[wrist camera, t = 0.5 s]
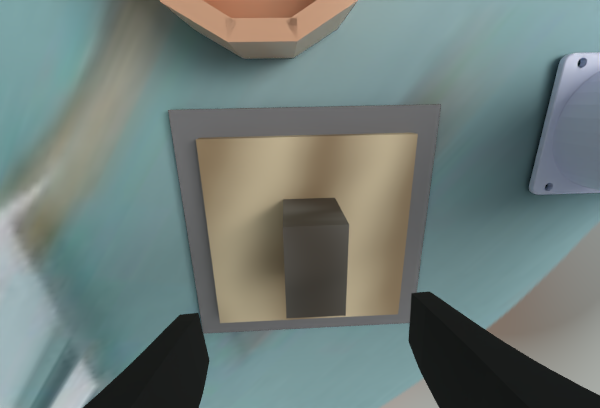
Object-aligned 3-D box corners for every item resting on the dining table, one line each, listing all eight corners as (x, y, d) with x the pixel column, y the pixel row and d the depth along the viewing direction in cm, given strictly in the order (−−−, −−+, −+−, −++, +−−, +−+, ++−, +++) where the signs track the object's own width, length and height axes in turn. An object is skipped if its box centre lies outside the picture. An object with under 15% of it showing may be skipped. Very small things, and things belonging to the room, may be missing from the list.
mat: (436, 104, 17) (441, 104, 16) (409, 318, 22) (412, 322, 21) (171, 109, 16) (168, 109, 16) (205, 328, 21) (203, 333, 21)
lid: (412, 132, 17) (458, 143, 12) (393, 306, 21) (424, 363, 16) (199, 137, 16) (167, 151, 12) (222, 314, 20) (204, 376, 16)
